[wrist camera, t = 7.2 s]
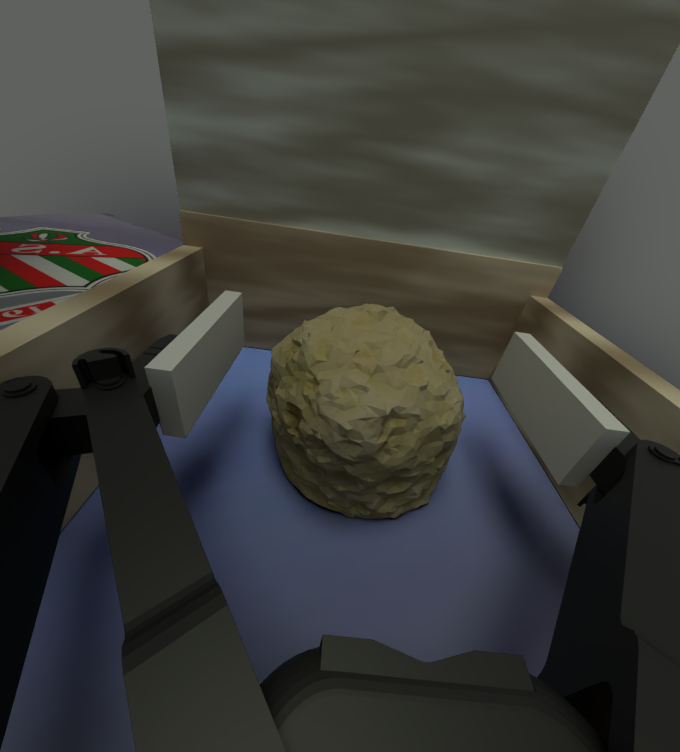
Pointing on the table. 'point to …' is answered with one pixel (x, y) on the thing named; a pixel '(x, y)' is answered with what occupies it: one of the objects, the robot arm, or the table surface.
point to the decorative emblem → (55, 268)
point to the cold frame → (385, 183)
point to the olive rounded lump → (363, 411)
